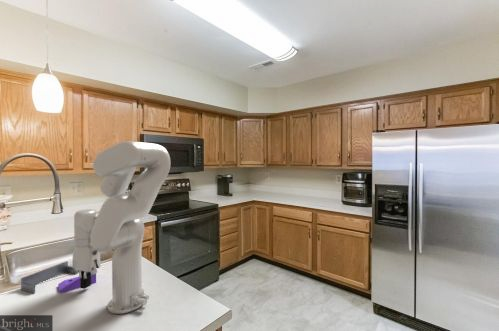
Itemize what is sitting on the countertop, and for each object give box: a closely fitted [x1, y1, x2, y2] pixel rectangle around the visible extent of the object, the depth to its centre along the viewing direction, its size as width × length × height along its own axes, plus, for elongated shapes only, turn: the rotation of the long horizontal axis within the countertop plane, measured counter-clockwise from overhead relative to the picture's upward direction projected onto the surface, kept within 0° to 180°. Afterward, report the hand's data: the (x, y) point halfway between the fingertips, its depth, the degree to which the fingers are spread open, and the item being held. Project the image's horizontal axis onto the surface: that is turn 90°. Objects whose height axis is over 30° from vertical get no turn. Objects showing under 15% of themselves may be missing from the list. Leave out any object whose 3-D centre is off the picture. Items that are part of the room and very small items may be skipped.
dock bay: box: [20, 261, 79, 295], centre depth 102 cm, size 8×17×5 cm, turn 161°
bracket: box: [57, 273, 97, 294], centre depth 100 cm, size 12×7×7 cm, turn 134°
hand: (85, 286), depth 95 cm, fingers closed
